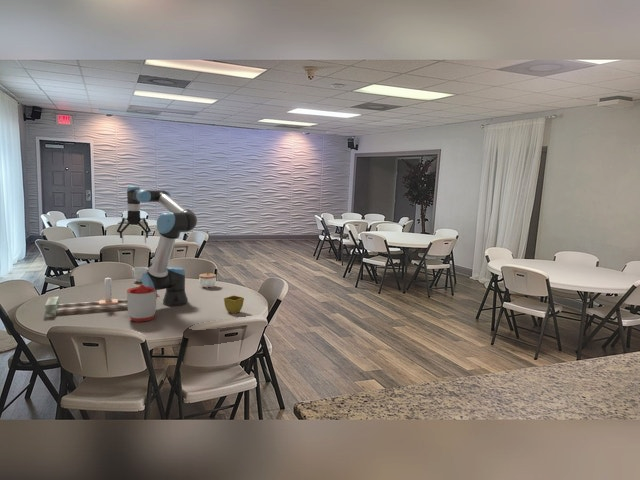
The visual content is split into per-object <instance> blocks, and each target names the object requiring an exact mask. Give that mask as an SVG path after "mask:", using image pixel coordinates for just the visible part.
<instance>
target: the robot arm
mask: <svg viewBox="0 0 640 480" xmlns="http://www.w3.org/2000/svg"><path fill="white" fill-rule="evenodd" d="M126 194H127V195H126V197H127V199H126V201H127V206H126V207H127V217H121V222H120V224H119V226H118V228H117V230H116V232H117V233H119V238H120V239H121V244H124V231H125V230H126V229H127V228H128V227H129V226H130V225H131V226H135V225H136V226H137V225H138V226H139V227H141V229H142V230H143V231H144V243H145V244H147V238H149V233H150V232H152V230H151V228H150V227H149V225H148V223H147V220H146V218H145V217H142V218H141V211H140V210H141V203H159V204H160V205H161V206H162V207H163V208H165V209H166V211H168V212H163V213H160V215H159V216H158V217H157V220H156V229H157V232H158V234H159V235H160V236H159V239H158V240H159V241H158V244H157V248H156V250H155V254H154V257H153V261H152V264H151V265H150V266H149V267H147V268H148V272H147V273H146V272H145V273H143V274H142V282H141V284H142V285H144V286H145V287H154V291H155V290H157V291H160V290H165V293H164V297H163V300H162V304H163V305H165V306H170V307H171V306H172V307H177V306H183V305H187V304H188V301H189V298H188V297H187V292H186V270H185V268H182V267H179V266H178V267H177V266H168V265H169V262H170V259H171V255H172V252H173V248H174V246H175V242H176V240H177V239H179V237H180V235H181V233H187V232H191V231H193V230H194V229H195V228H196V226H197V224H198V218H197V216H196V214H195V213H194V212H193V211H192V210H191V209H188V208H186V207H184V206H182V204H180V202H178V201H176V200H175V199H174V198H172V197H171V193H170V191H168V190H163V189H162V190H159V189H158V190H155V189H154V190H153V189H149V190H148V189H147V190H146V189H141V188H140V186H137V185H135V186H133V185H132V186H131V185H129V186H127V188H126ZM126 221H127V223H126V224H125V225H124V222H126ZM141 221H142V222H143V223H144V225H145V227H146V228H147V229H146V228H145V227H144V226H143V224H141ZM123 225H124V226H123ZM122 227H123V228H122Z"/></svg>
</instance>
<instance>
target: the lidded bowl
mask: <svg viewBox="0 0 640 480" xmlns="http://www.w3.org/2000/svg"><path fill="white" fill-rule="evenodd" d="M198 280H199V285H201V287H202V288H203V287H212V288H213V287H214V286H215V285H216V283H217V274H215V273H211V272H210V273H209V272H206V273H205V272H204V273H200V274H199V275H198Z"/></svg>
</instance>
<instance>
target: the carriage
mask: <svg viewBox="0 0 640 480" xmlns="http://www.w3.org/2000/svg"><path fill="white" fill-rule="evenodd" d="M112 291H113V289H112V278H111V277H105V278H104V299H99V306H108V305H118V300H119V299H118V298H112V297H113V296H112V295H113V292H112Z"/></svg>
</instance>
